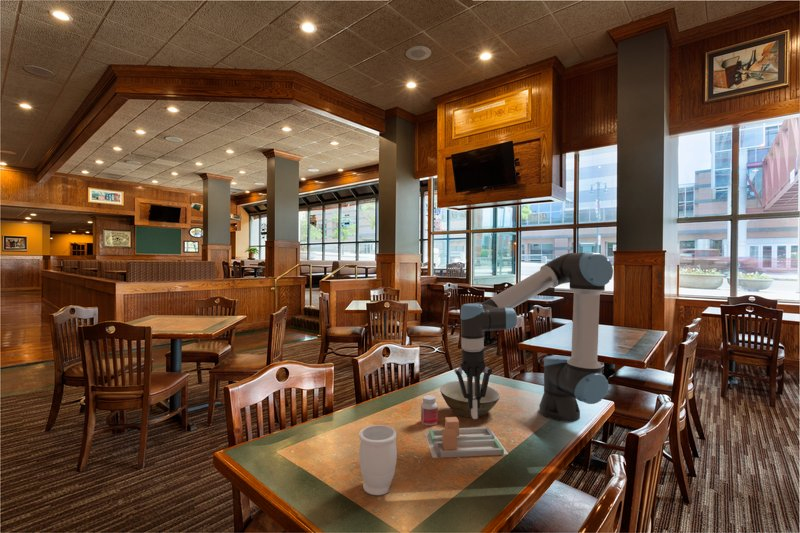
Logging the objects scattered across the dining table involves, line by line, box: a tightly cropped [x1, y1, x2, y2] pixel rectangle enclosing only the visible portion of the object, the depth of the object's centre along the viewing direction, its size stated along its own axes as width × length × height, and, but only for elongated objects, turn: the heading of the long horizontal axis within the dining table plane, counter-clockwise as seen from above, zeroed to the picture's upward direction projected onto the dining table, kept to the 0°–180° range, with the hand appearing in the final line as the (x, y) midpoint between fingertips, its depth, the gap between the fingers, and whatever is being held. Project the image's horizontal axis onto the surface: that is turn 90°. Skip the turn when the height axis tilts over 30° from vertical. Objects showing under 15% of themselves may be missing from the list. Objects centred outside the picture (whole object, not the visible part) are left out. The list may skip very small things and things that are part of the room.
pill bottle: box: [420, 394, 439, 427], centre depth 143 cm, size 6×6×11 cm
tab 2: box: [441, 428, 457, 451], centre depth 122 cm, size 4×4×6 cm
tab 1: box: [444, 416, 460, 436], centre depth 131 cm, size 4×4×6 cm
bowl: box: [439, 380, 501, 418], centre depth 154 cm, size 24×24×10 cm
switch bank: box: [424, 426, 509, 459], centre depth 127 cm, size 24×16×3 cm, turn 95°
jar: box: [358, 424, 398, 496], centre depth 105 cm, size 11×10×15 cm
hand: (474, 417), depth 131 cm, fingers closed
